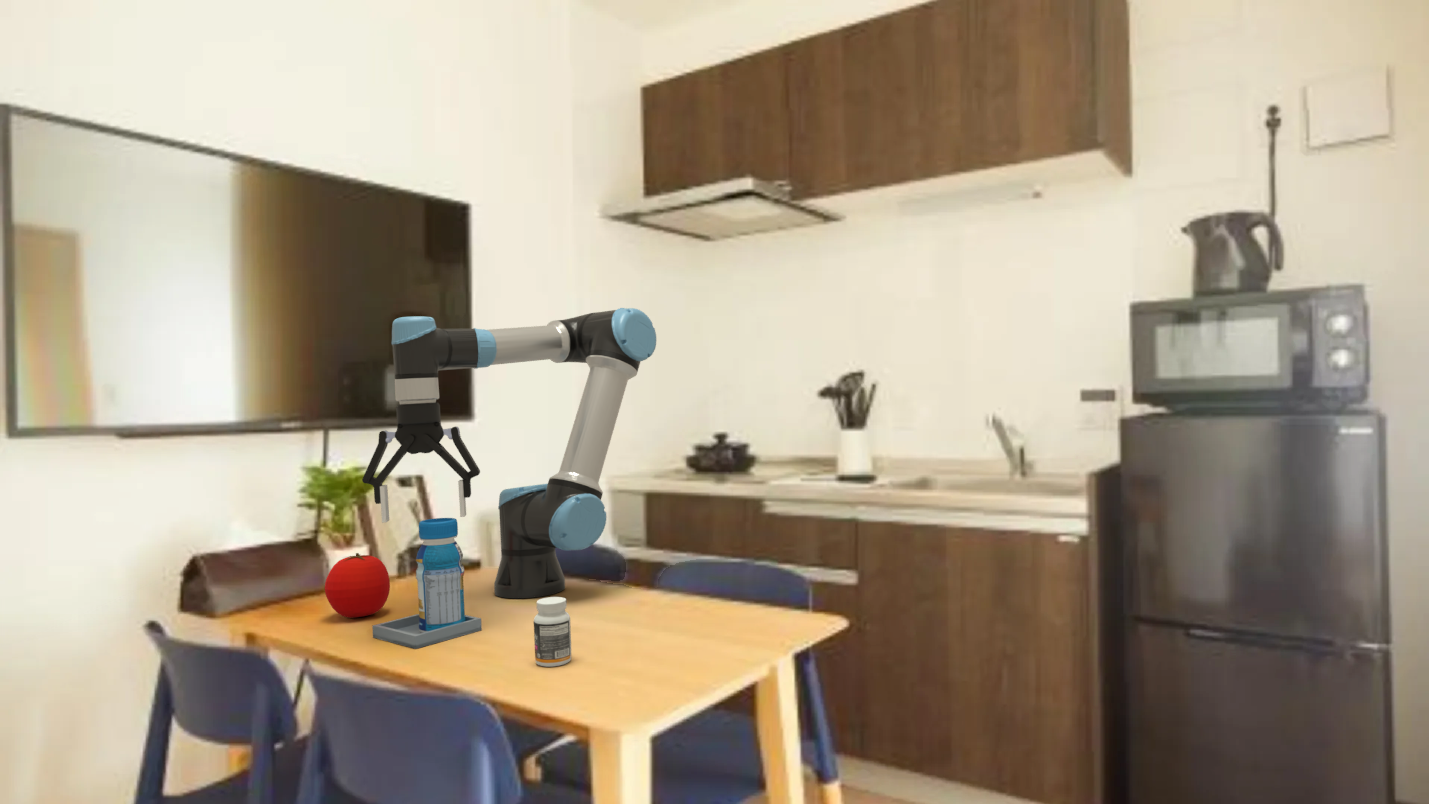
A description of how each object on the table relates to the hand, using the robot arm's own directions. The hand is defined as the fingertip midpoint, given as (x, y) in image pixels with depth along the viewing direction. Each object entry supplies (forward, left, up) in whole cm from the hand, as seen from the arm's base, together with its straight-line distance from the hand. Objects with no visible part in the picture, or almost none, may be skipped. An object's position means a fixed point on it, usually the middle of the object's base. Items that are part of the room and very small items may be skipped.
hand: (424, 518), depth 159 cm
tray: (0, 0, -21) cm, 21 cm away
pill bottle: (-23, +24, -21) cm, 39 cm away
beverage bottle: (-2, 0, -21) cm, 21 cm away
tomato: (+16, -18, -21) cm, 32 cm away
